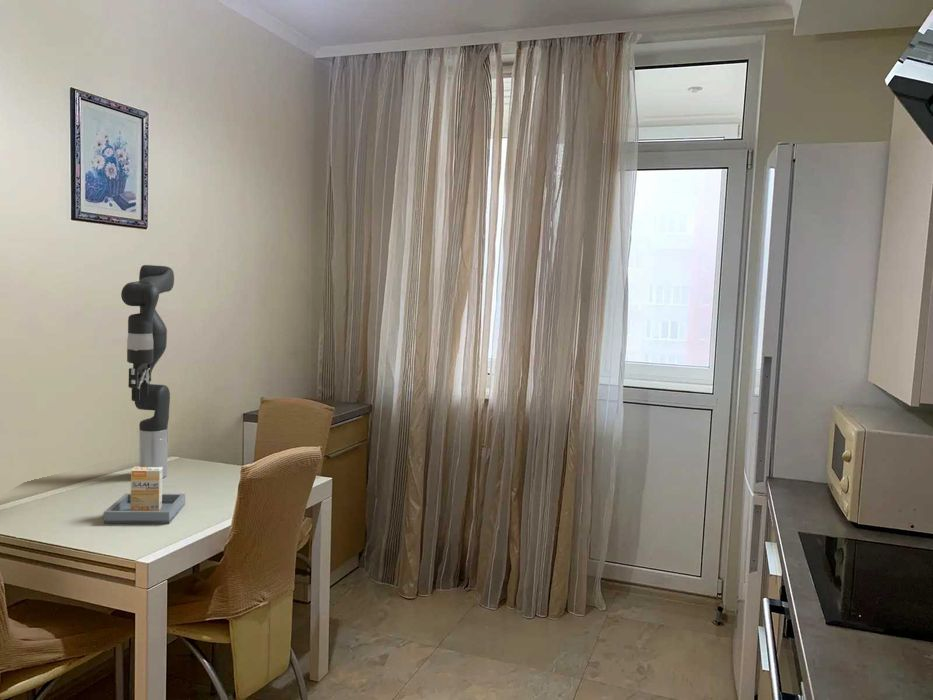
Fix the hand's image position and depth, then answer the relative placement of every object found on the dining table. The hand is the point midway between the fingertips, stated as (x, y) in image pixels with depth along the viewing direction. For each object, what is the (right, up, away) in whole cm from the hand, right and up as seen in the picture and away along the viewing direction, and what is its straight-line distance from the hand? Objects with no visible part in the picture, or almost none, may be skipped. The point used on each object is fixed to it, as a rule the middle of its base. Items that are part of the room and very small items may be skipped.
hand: (140, 398), depth 224 cm
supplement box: (+6, -34, -9) cm, 35 cm away
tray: (+6, -34, -9) cm, 36 cm away
